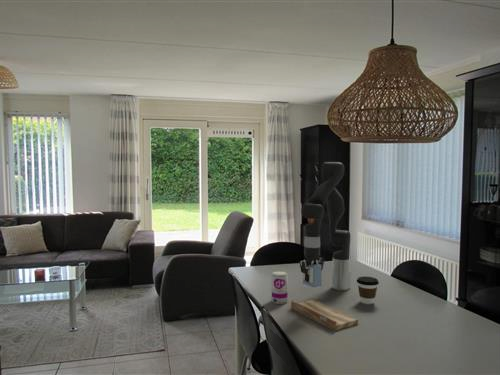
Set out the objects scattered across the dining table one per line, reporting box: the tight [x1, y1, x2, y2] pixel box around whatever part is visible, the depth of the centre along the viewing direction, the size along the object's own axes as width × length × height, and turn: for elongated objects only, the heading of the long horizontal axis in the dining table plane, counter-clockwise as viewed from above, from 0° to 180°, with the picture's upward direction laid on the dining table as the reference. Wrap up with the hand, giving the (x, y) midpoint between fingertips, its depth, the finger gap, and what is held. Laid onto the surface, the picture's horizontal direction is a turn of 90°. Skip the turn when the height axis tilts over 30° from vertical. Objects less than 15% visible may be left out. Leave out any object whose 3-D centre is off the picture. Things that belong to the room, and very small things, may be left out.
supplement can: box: [271, 270, 289, 305], centre depth 202 cm, size 8×8×15 cm
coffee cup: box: [356, 276, 380, 305], centre depth 202 cm, size 11×11×12 cm
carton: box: [302, 263, 323, 288], centre depth 188 cm, size 8×5×10 cm, turn 32°
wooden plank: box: [290, 299, 359, 332], centre depth 184 cm, size 14×30×4 cm, turn 32°
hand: (311, 280), depth 188 cm, fingers closed on carton, 5 cm apart
